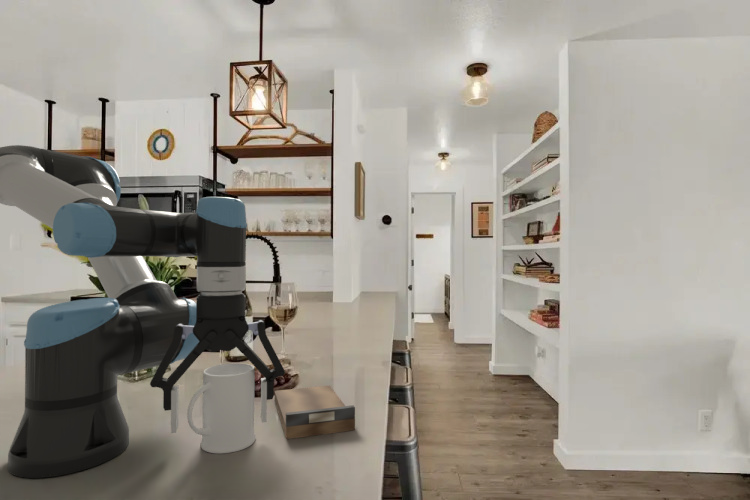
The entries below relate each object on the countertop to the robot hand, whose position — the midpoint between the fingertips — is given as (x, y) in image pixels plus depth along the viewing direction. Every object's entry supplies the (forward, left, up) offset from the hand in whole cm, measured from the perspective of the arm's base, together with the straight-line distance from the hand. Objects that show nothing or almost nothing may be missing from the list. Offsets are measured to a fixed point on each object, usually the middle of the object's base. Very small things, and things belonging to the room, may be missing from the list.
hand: (220, 424), depth 69 cm
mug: (0, 0, -4) cm, 4 cm away
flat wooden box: (+16, +9, -3) cm, 19 cm away
